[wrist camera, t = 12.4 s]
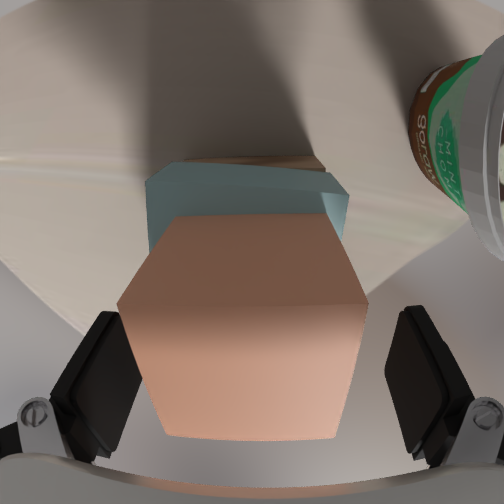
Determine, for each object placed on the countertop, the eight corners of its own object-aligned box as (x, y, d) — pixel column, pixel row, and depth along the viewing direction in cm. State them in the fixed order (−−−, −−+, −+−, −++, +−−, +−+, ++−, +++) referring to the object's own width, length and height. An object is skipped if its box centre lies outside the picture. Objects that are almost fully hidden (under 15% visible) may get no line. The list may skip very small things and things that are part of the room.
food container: (356, 81, 17) (437, 71, 8) (430, 46, 15) (535, 30, 6) (430, 241, 21) (504, 326, 12) (490, 203, 19) (576, 266, 10)
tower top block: (330, 172, 16) (349, 195, 12) (308, 304, 19) (316, 350, 16) (172, 161, 16) (145, 181, 12) (176, 294, 19) (159, 337, 16)
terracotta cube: (326, 213, 12) (368, 303, 7) (317, 331, 15) (334, 437, 10) (175, 216, 13) (116, 303, 7) (194, 332, 15) (166, 434, 10)
